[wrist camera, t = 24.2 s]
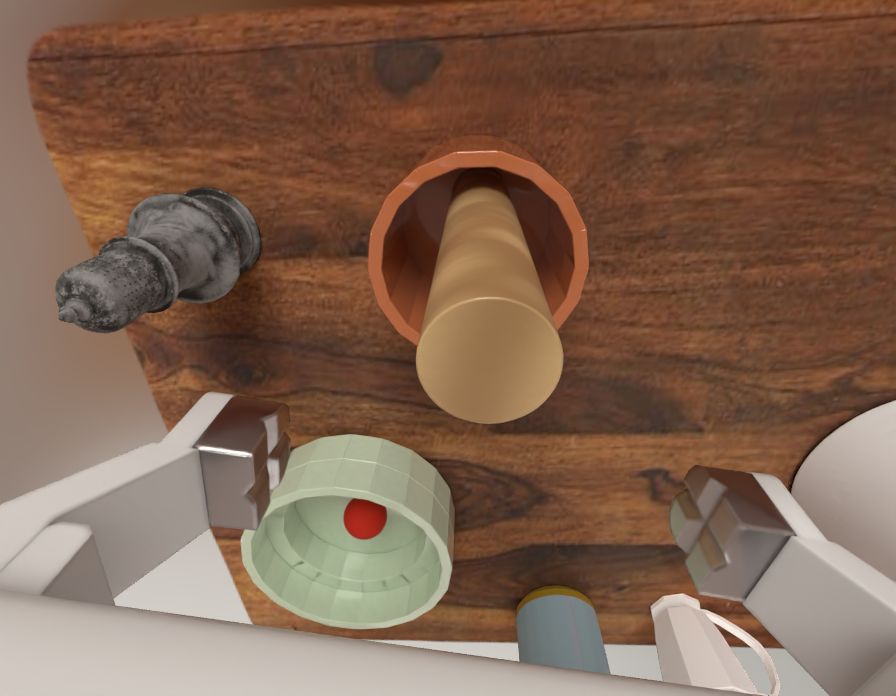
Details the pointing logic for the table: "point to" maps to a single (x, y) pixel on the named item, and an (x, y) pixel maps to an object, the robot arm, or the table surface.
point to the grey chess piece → (162, 260)
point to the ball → (364, 518)
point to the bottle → (560, 630)
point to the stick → (486, 311)
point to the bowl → (345, 557)
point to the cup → (702, 647)
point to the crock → (424, 215)
